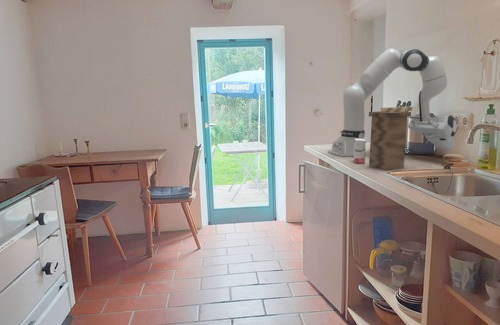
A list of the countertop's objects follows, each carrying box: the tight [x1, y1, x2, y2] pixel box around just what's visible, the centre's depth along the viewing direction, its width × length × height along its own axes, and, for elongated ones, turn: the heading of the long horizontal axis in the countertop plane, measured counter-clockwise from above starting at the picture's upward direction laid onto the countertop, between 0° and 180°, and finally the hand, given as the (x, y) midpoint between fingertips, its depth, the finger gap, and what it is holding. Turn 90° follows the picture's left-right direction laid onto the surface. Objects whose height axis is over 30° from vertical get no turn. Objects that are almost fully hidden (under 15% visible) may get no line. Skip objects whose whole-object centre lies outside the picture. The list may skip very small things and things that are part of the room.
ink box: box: [353, 138, 367, 164], centre depth 178 cm, size 9×5×12 cm, turn 168°
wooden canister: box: [368, 110, 412, 171], centre depth 164 cm, size 12×14×26 cm
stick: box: [380, 106, 414, 112], centre depth 164 cm, size 20×2×2 cm, turn 120°
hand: (420, 120), depth 174 cm, fingers open, 8 cm apart
